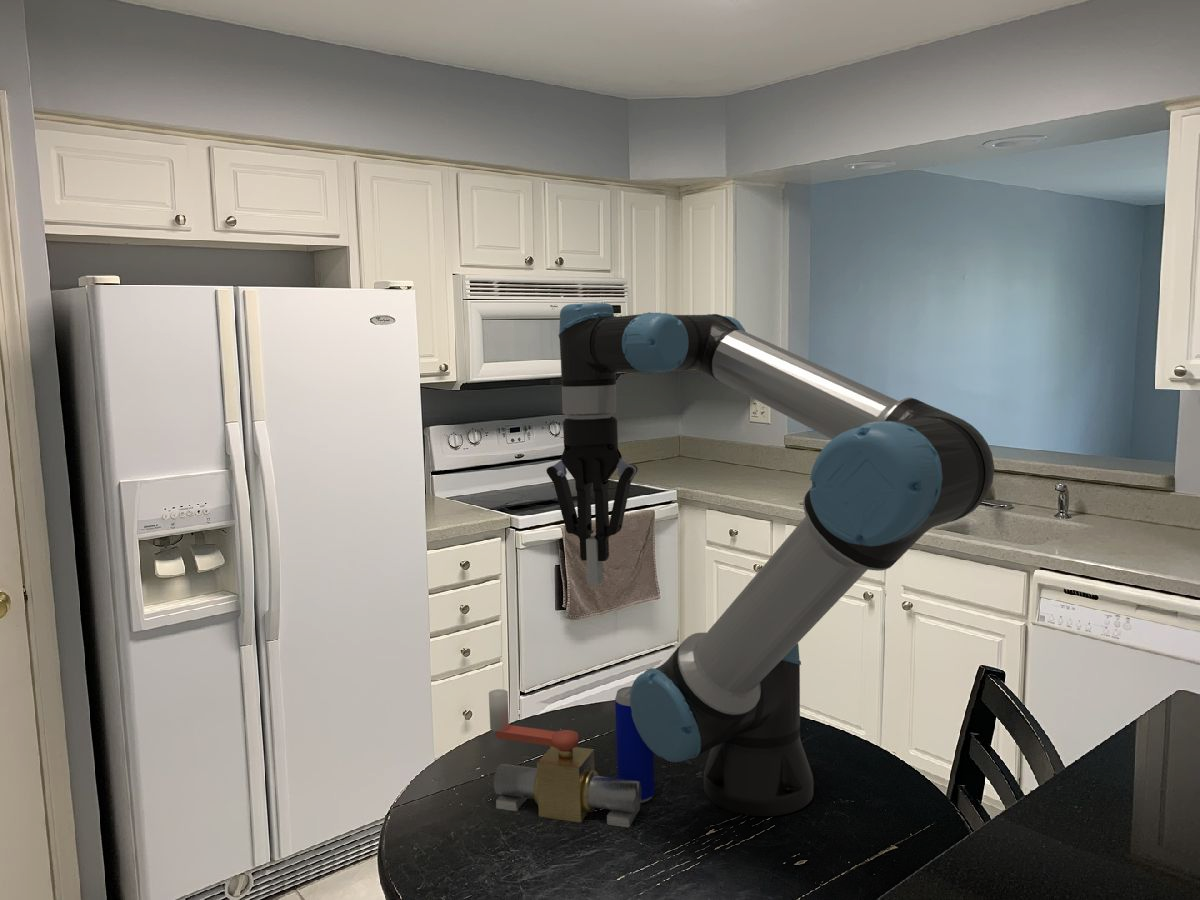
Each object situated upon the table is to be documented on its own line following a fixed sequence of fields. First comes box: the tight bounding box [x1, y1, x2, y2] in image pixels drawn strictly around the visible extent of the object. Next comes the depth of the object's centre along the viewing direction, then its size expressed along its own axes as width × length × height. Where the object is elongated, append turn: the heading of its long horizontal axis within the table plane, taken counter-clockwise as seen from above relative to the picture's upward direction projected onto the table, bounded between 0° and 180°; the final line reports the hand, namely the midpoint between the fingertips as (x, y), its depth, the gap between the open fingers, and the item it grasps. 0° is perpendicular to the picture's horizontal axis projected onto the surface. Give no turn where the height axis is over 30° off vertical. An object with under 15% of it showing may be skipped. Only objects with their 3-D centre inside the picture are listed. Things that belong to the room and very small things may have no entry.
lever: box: [488, 688, 580, 750], centre depth 125 cm, size 13×4×6 cm, turn 68°
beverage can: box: [614, 685, 656, 804], centre depth 127 cm, size 5×5×15 cm
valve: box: [493, 746, 642, 828], centre depth 124 cm, size 20×6×9 cm, turn 71°
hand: (595, 582), depth 129 cm, fingers closed
